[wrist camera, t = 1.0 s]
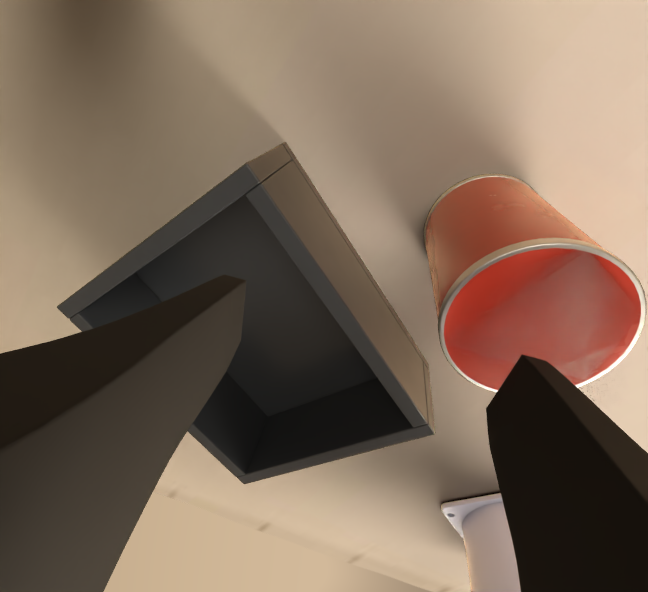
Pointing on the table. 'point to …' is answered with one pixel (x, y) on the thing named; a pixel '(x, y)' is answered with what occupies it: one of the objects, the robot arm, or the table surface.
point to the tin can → (525, 286)
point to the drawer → (279, 324)
